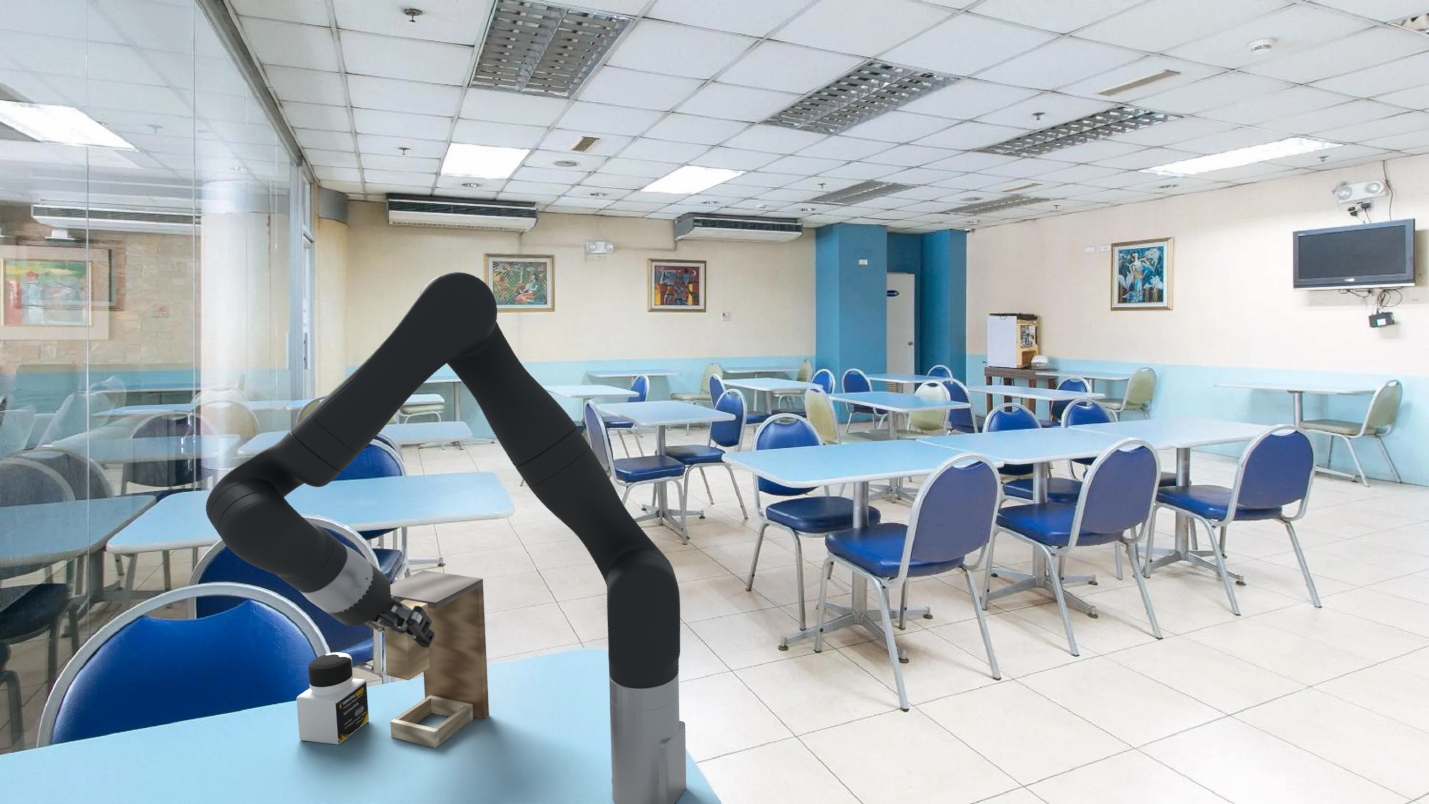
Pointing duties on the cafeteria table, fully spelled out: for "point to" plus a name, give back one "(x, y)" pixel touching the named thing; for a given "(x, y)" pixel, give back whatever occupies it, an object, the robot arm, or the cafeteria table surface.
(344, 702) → the medicine bottle
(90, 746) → the cafeteria table surface
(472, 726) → the cafeteria table surface
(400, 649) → the peg
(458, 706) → the awning socket
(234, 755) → the cafeteria table surface
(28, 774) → the cafeteria table surface
